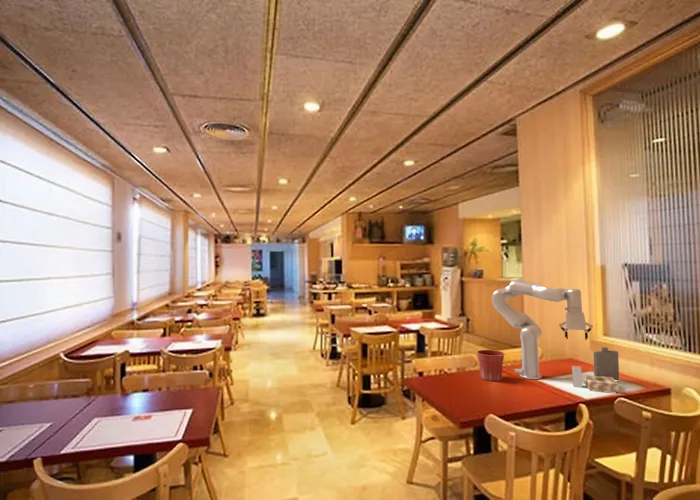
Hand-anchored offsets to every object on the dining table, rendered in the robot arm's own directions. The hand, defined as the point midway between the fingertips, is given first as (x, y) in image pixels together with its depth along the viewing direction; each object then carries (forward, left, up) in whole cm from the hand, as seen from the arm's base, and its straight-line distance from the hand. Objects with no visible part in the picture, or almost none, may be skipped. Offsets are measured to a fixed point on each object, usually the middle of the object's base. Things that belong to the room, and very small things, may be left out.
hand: (576, 339), depth 232 cm
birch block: (+11, -3, -27) cm, 29 cm away
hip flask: (+17, +14, -27) cm, 35 cm away
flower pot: (-48, -3, -27) cm, 55 cm away
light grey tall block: (-1, -3, -27) cm, 27 cm away
